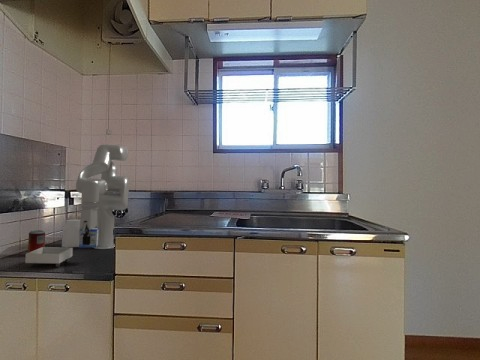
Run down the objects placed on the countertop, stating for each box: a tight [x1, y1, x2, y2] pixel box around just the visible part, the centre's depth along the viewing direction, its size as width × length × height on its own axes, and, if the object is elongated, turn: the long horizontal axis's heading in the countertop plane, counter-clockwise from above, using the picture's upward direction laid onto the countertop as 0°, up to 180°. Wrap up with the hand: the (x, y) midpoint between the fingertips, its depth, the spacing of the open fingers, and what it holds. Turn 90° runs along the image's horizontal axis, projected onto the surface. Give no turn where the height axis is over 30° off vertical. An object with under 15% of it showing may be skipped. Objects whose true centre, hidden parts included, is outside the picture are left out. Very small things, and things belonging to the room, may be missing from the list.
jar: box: [61, 219, 80, 248], centre depth 188 cm, size 12×10×15 cm
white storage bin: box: [24, 246, 74, 268], centre depth 146 cm, size 14×14×6 cm
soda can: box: [27, 229, 46, 253], centre depth 162 cm, size 7×7×12 cm
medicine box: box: [78, 227, 99, 248], centre depth 152 cm, size 8×4×9 cm, turn 106°
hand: (88, 242), depth 152 cm, fingers closed on medicine box, 5 cm apart
